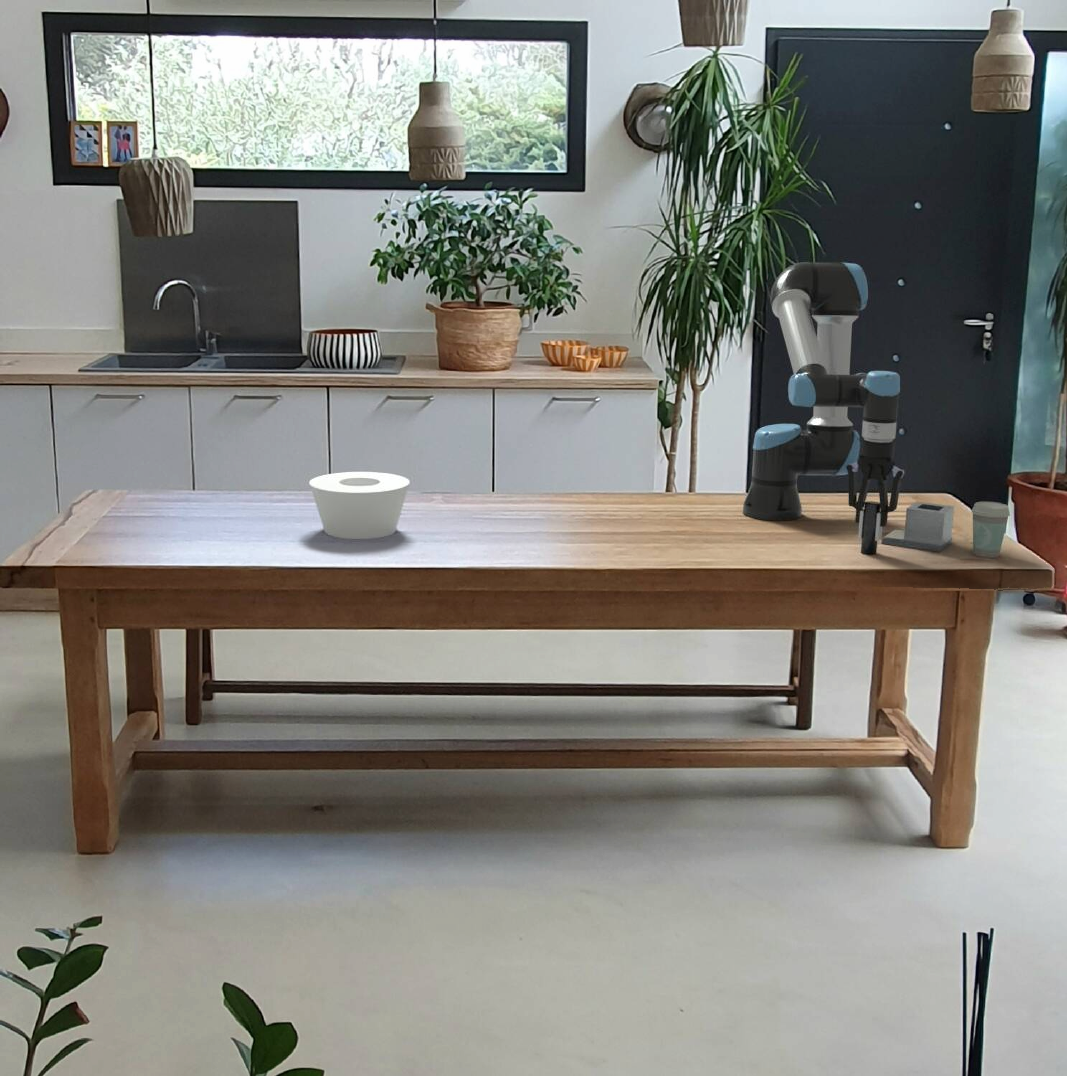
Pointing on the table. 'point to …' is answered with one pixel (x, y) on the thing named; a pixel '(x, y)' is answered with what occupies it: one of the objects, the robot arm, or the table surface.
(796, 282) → the robot arm
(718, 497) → the table surface
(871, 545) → the black tapered cylinder
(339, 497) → the white tapered cylinder
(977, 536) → the coffee cup
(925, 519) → the square frame housing
